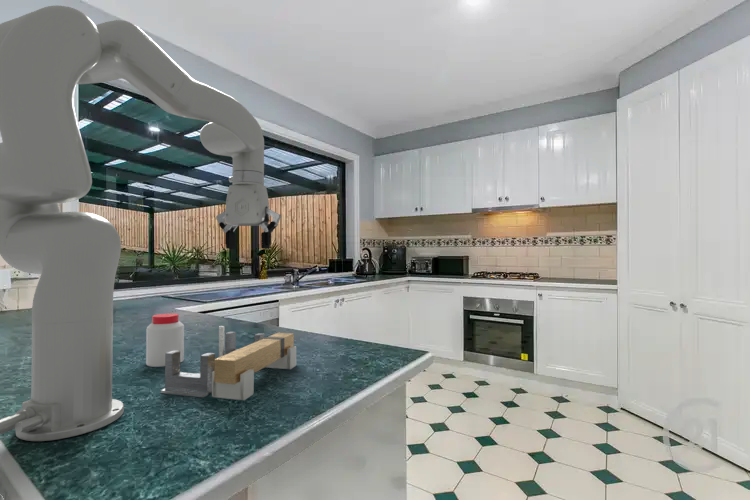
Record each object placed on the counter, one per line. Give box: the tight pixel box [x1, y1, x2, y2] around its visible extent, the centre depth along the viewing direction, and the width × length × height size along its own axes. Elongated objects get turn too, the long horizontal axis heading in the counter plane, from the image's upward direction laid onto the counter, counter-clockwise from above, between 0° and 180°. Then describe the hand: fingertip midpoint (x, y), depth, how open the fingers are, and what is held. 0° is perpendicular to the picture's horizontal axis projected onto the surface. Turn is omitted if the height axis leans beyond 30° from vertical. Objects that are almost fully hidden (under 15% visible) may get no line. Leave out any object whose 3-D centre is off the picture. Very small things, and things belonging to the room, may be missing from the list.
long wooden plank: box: [214, 332, 295, 384], centre depth 76 cm, size 23×4×4 cm, turn 167°
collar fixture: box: [160, 325, 266, 398], centre depth 78 cm, size 22×9×9 cm, turn 167°
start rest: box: [211, 345, 297, 401], centre depth 76 cm, size 21×6×4 cm, turn 167°
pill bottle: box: [145, 312, 185, 368], centre depth 88 cm, size 8×8×11 cm
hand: (248, 248), depth 94 cm, fingers open, 9 cm apart
